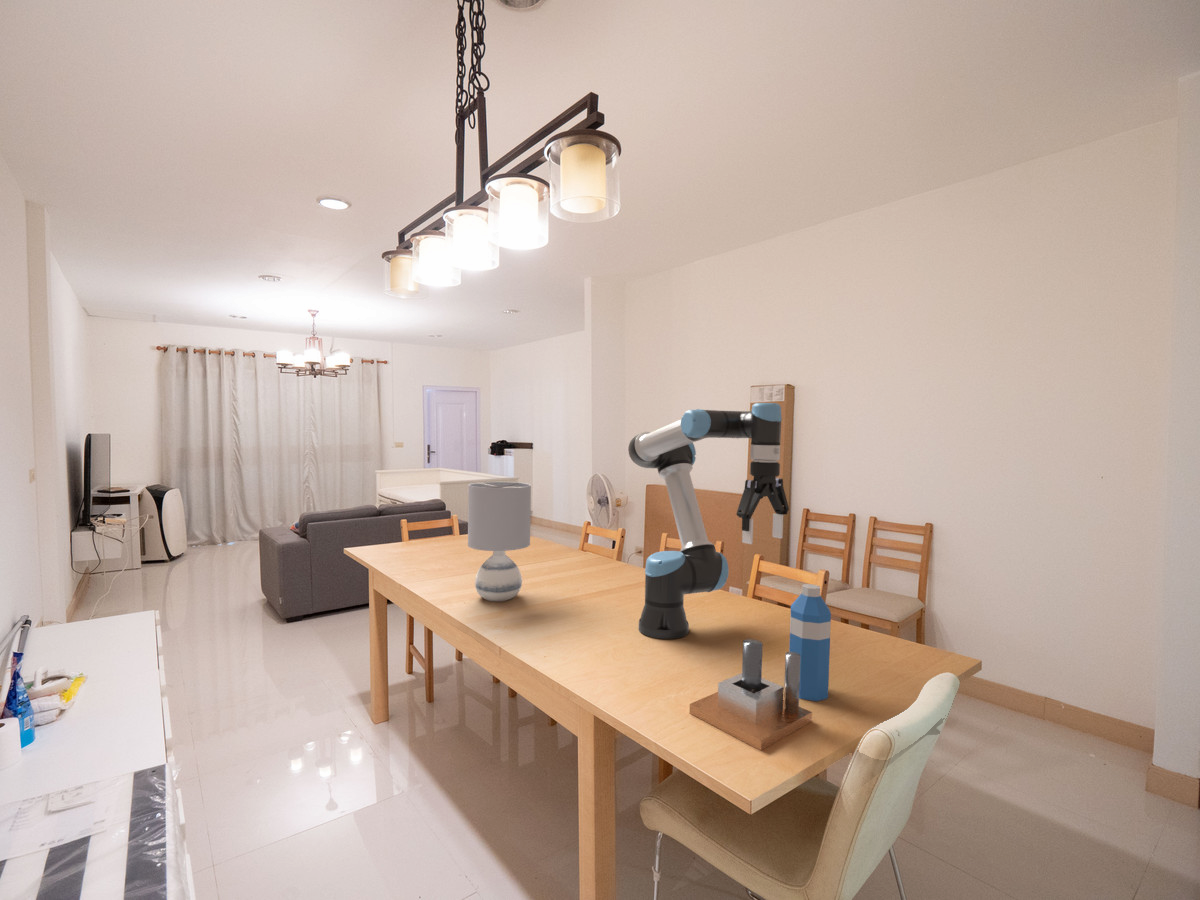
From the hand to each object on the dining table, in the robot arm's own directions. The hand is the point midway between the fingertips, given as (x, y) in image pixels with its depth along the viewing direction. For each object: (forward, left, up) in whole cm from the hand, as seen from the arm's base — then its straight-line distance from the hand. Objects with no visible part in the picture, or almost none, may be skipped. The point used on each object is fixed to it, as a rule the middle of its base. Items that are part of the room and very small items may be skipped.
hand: (762, 540), depth 152 cm
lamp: (-88, -30, -32) cm, 98 cm away
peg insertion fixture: (+18, -29, -32) cm, 47 cm away
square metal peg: (+18, -29, -30) cm, 45 cm away
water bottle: (+19, -8, -32) cm, 38 cm away
